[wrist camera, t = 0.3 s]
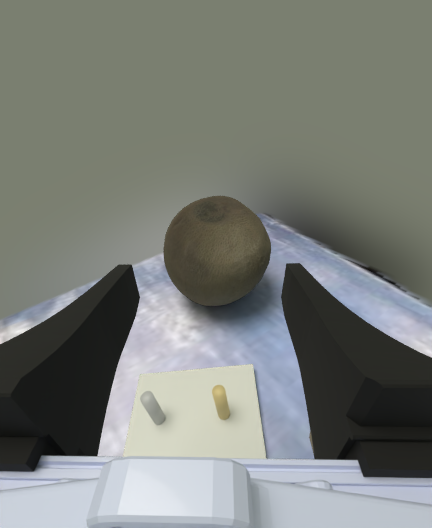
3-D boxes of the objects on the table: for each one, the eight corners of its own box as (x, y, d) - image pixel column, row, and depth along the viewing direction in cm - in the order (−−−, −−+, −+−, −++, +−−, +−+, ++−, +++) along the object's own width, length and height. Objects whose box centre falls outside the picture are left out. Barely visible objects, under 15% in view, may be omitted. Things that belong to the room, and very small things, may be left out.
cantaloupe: (177, 339, 36) (145, 246, 27) (176, 272, 47) (153, 190, 38) (281, 320, 36) (285, 222, 27) (256, 258, 47) (253, 173, 38)
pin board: (268, 477, 23) (268, 454, 20) (121, 486, 24) (96, 466, 21) (253, 369, 31) (251, 339, 28) (142, 379, 32) (127, 351, 29)
